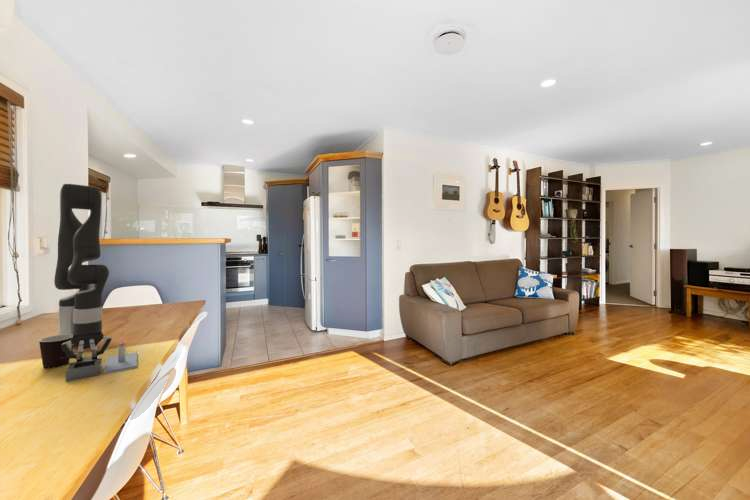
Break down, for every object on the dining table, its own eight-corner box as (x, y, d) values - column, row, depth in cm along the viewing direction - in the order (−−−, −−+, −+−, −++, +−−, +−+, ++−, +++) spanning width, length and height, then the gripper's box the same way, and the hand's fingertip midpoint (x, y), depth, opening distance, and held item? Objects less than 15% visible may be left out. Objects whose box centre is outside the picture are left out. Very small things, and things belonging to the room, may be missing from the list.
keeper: (107, 358, 114) (107, 339, 114) (137, 354, 120) (137, 335, 120) (103, 373, 102) (103, 351, 102) (136, 367, 107) (137, 346, 107)
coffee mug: (50, 371, 102) (50, 342, 102) (31, 368, 104) (32, 340, 104) (88, 358, 114) (89, 333, 114) (71, 356, 115) (72, 331, 115)
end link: (73, 366, 106) (73, 357, 106) (103, 362, 111) (103, 352, 111) (65, 381, 95) (65, 371, 95) (99, 375, 100) (99, 365, 100)
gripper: (114, 315, 113) (113, 360, 113) (62, 320, 104) (61, 368, 104) (113, 319, 107) (112, 366, 107) (57, 325, 98) (56, 376, 98)
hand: (86, 367), depth 106 cm, fingers closed on end link, 2 cm apart
